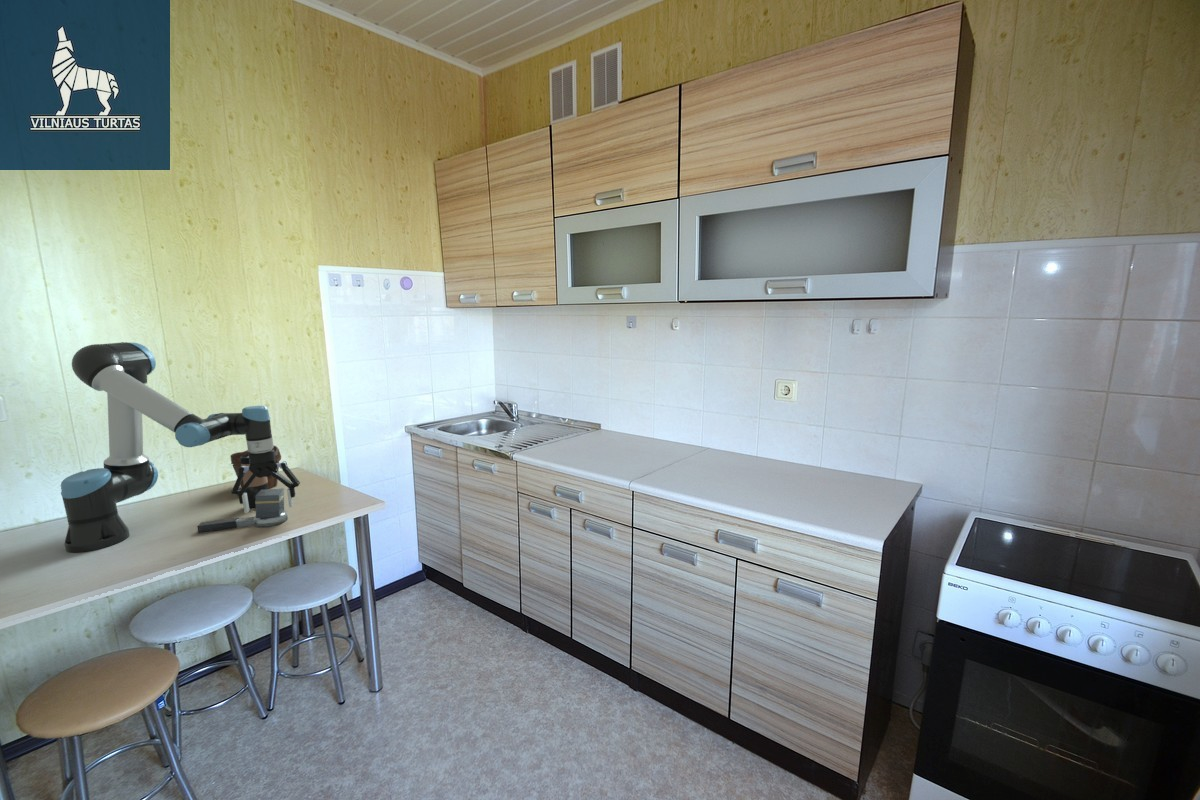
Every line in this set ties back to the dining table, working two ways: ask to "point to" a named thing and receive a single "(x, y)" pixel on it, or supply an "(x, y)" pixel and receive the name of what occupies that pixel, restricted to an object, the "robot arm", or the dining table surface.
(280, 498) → the gold-striped grey cube
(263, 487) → the travel mug
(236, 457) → the brown tapered pot
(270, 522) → the ratchet
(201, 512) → the dining table surface
